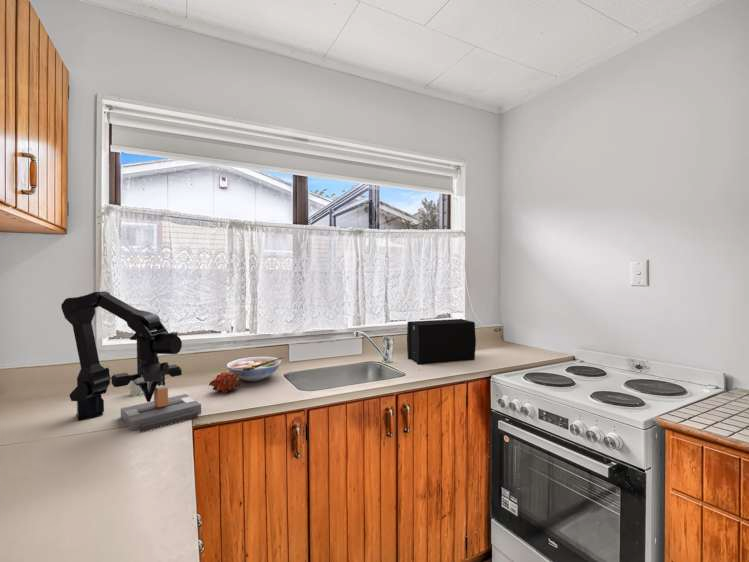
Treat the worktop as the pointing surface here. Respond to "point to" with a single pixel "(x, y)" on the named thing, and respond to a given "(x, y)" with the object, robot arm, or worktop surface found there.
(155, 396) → the orange rectangular block
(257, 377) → the ramen bowl
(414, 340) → the uninterruptible power supply
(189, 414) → the grey slab
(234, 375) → the dragon fruit
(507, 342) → the worktop surface
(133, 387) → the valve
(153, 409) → the panel
